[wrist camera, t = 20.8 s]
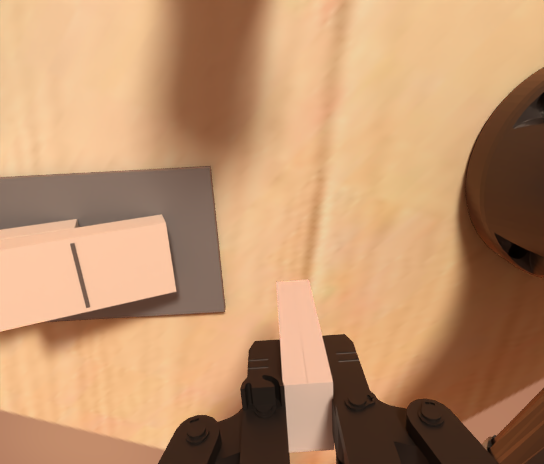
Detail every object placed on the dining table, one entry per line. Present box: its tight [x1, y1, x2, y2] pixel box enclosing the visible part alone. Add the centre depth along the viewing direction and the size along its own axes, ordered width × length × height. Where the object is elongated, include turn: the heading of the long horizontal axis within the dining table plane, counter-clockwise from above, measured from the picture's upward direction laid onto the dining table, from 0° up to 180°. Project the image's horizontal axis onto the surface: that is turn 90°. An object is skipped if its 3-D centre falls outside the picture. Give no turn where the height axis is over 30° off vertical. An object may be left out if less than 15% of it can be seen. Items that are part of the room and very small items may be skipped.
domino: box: [0, 214, 176, 332], centre depth 24 cm, size 2×5×11 cm
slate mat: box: [0, 166, 225, 322], centre depth 27 cm, size 28×11×1 cm, turn 93°
